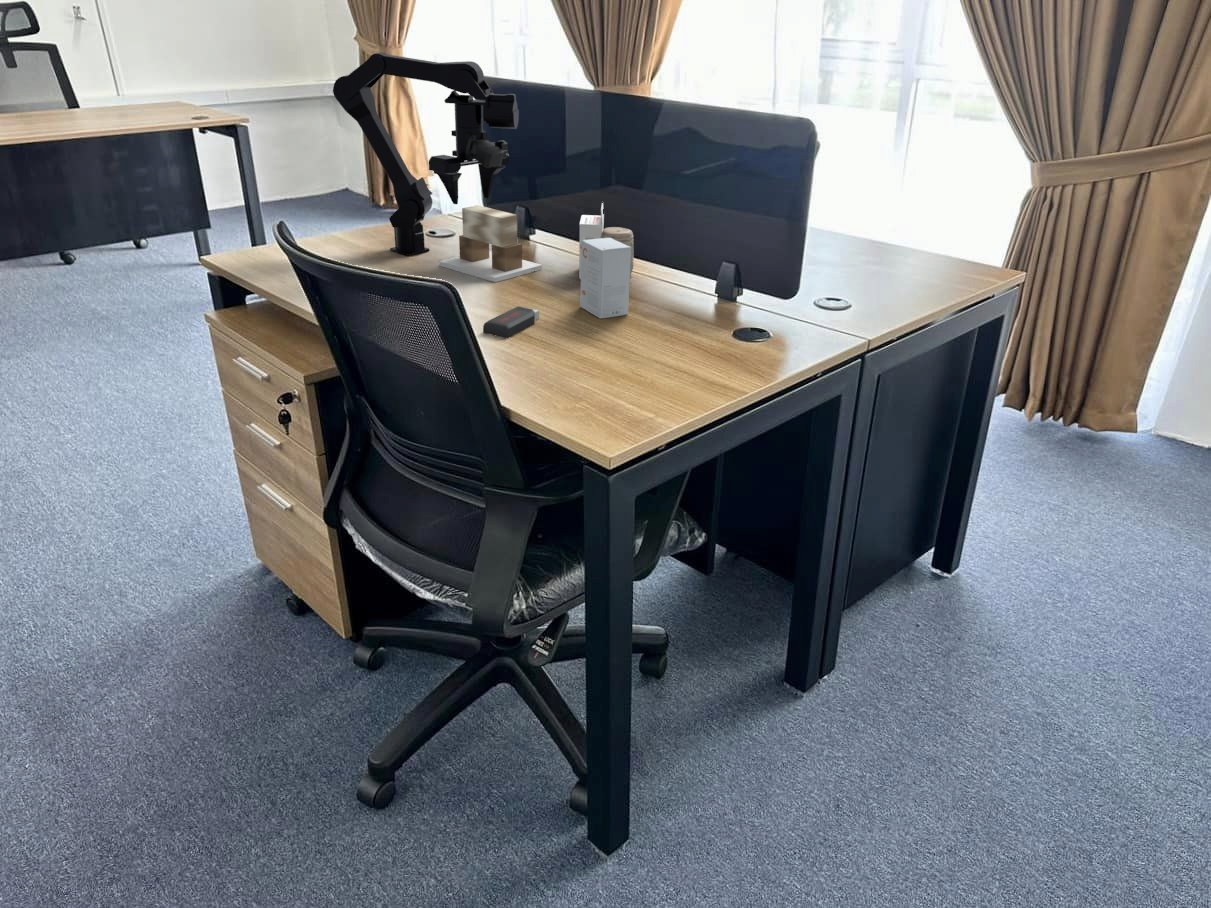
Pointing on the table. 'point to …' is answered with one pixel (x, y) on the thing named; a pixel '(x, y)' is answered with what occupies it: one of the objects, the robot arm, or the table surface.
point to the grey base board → (488, 268)
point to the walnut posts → (501, 256)
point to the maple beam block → (489, 225)
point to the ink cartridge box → (590, 230)
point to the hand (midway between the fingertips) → (471, 201)
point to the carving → (621, 239)
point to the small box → (605, 277)
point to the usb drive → (511, 322)
